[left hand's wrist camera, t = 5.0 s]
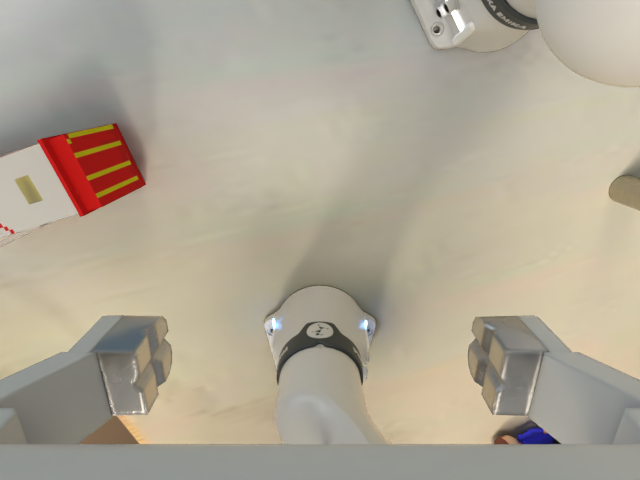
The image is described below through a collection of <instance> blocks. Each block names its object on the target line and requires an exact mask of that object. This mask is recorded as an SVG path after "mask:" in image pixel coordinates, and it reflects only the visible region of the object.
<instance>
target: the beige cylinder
mask: <svg viewBox="0 0 640 480" xmlns="http://www.w3.org/2000/svg"><path fill="white" fill-rule="evenodd" d="M609 195H610V198H611V199H612V200H613V201H615V202H618V203H621V204H623V205H626V206H629V207H631V208H634V209H637V210H639V211H640V178H638V177H635V176H631V175H624V176H620V177H618V178H617V179H616V180H615V181H614V182H613V183H612V184H611V186H610V189H609Z"/></svg>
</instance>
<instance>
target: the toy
mask: <svg viewBox="0 0 640 480" xmlns="http://www.w3.org/2000/svg"><path fill="white" fill-rule="evenodd" d="M37 141H38V143H39V144H36V145H33V146H31V147H28V148H25V149H22V150H20V149H19V150H15V151H11V152H7V153H3V154H0V237H3V236H7V235H10V234H13V233H17V232H19V233H17V234H15V235H13V236H10V237H8V238H6V239H4V240H2V241H0V247H1V246H3V245H6V244H8V243H10V242H12V241H14V240H16V239H18V238H20V237H23V236H25V235H27V234H29V233H31V232H33V231H35V230H37V229H40V228H42V227H44V226H46V225H48V224H50V223H52V222H54V221H57V220H60V219H63V218H67V217H70V216H73V215H76V214H79V215H80V217H81V216H84V215H86V214H88V213H90V212H92V211H94V210H96V209H98V208H100V207H103V206H105V205H107V204H109V203H111V202H113V201H115V200H117V199H119V198H121V197H123V196H125V195H127V194H129V193H131V192H133V191H135V190H137V189H139V188H141V187H142V186H144V185H146V184H145V182H144V180H143V178H142V175H141V173H140V171H139V169H138V167H137V165H136V163H135V161H134V159H133V157H132V155H131V153H130V151H129V149H128V147H127V144H126V142H125V140H124V138H123V136H122V134H121V132H120V130H119V128H118V126H117V124H116V123H115V124H110V125H105V126H101V127H96V128H91V129H86V130H81V131H77V132H72V133H67V134H62V135H57V136H53V137H48V138H43V139H39V140H37ZM20 231H21V232H20Z"/></svg>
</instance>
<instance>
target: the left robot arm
mask: <svg viewBox="0 0 640 480" xmlns="http://www.w3.org/2000/svg"><path fill="white" fill-rule="evenodd" d="M264 328H265V331H266V334H267V338H268V341H269V345H270V348H271V352H272V355H273V358H274V362H275V365H276V369H277V383H278V392H277V399H276V407H275V414H274V421H275V427H276V430H277V433H278V435H279V437H280V438H281V440H282V442H283V443H284V444H79V443H80V442H82V441H83V440H84V439H85V438H87V437H88V436H89V435H90V434H92V433H93V432H94V431H95V430H97V429H98V428H99V427H101V426H102V425H103V424H104V423H106V422H107V421H108V420H109V419H111V418H112V416H117V415H148V413H149V411H150V409H151V407H152V405H153V404H154V402H155V400H156V398H157V396H158V389H157V387H158V386H159V385H161V384H162V383H164V382H165V381H166V379H167V377H168V375H169V373H170V369H171V364H172V350H171V345H170V344H169V343H168V342H167V341H166V340H165V339H164V337H165V336H166V334H167V332H168V326H167V321H166V319H165V318H164V317H163V316H124V315H115V316H103V317H101V318H100V320H99V321H98V322H97V323H96V324H95V325H94V326H93V327H92V328H91V329H90V330H89V331H88V332H87V333H86V334H85V335H84V336H83V337H82V338H81V339H80V340H79V341H78V342H77V343H76V344H75V345H74V346H73V347H72V348H71V349H70V350H69V351H68V352H61V353H59V354H56V355H54V356H52V357H50V358H48V359H45V360H43V361H41V362H39V363H37V364H35V365H32V366H30V367H28V368H26V369H24V370H21V371H19V372H17V373H15V374H13V375H10V376H8V377H6V378H4V379H2V380H0V480H640V380H638V379H636V378H634V377H632V376H629V375H627V374H625V373H623V372H621V371H619V370H616V369H614V368H612V367H610V366H608V365H605V364H603V363H601V362H599V361H597V360H594V359H592V358H590V357H588V356H586V355H584V354H581V353H579V352H572V351H571V350H570V349H569V348H568V347H567V346H566V345H565V344H564V343H563V342H562V341H561V340H560V339H559V338H558V337H557V336H556V335H555V334H554V333H553V332H552V331H551V330H550V329H549V328H548V327H547V326H546V325H545V324H544V322H543V321H542V320H541V319H540V318H539V317H537V316H534V315H526V316H495V317H475V319H474V321H473V325H472V332H473V334H474V336H475V337H476V339H475V340H474V341H473V342H472V343H471V344H470V345H469V350H468V364H469V369H470V372H471V375H472V377H473V379H474V381H475V382H476V383H478V384H479V385H481V386H482V387H483V389H482V396H483V398H484V400H485V402H486V403H487V405H488V407H489V409H490V411H491V413H492V415H523V416H528V418H530V419H531V420H532V421H533V422H535V423H536V424H537V425H538V426H540V427H541V428H542V429H543V430H545V431H546V432H547V433H548V434H550V435H551V436H552V437H553V438H555V439H556V440H557V441H558V442H560V443H561V444H392V443H391V442H390V441H389V440H388V439H387V438H386V437H385V436H384V435H383V434H382V433H381V432H380V431H379V429H378V428H377V427H376V426H375V424H374V423H373V421H372V420H371V418H370V416H369V414H368V411H367V407H366V404H365V400H364V395H363V390H362V384H363V381H366V379H367V367H366V366H364V365H365V363H367V364H368V362H369V355H368V352H369V348H370V345H371V341H372V338H373V334H374V331H375V328H376V321H375V319H374V318H373V317H372V316H370V315H369V314H367V313H365V312H363V311H362V310H361V309H360V307H359V306H358V305H357V303H356V302H355V301H354V300H353V299H352V298H351V297H350V296H349V295H348V294H346V293H345V292H343V291H341V290H339V289H336V288H333V287H329V286H311V287H307V288H304V289H301V290H299V291H297V292H295V293H294V294H292V295H291V296H290V297H289V298H288V299H287V300H286V301H285V302H284V303H283V305H282V306H281V307H280V309H279V310H278V311H277V312H275V313H273V314H271V315H270V316H268V317H267V318H266V319H265V321H264ZM271 329H273V331H272V330H271ZM367 329H369V330H368V331H367Z"/></svg>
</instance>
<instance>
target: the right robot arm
mask: <svg viewBox="0 0 640 480" xmlns="http://www.w3.org/2000/svg"><path fill="white" fill-rule="evenodd" d="M410 1H411V4H412V6H413V8H414V10H415V12H416V14H417V17H418V19H419V21H420V23H421V25H422V27H423V30H424V32H425V34H426V36H427V38H428V40H429V43H430V45H431V46H432V47H433V48H435V49H438V50H442V49H449V48H454V47H459V48H464V49H467V50H471V51H476V52H491V51H496V50H500V49H503V48H505V47H507V46H510V45H511V44H513V43H515V42H516V41H518V40H519V39H520V38H522V37H523V36H524V35H525V34H526V33H527V32H528V31H529V30H533V29H538V28H540V31H541V34H542V36H543V38H544V40H545V42H546V44H547V45H548V47H549V49H550V50H551V51H552V53H553V54H554V55H555V56H556V57H557V58H558V59H559V60H560V61H561V62H562V63H563V64H564V65H565V66H566V67H568V68H569V69H570V70H572V71H573V72H575V73H577V74H578V75H580V76H582V77H584V78H587V79H589V80H592V81H595V82H598V83H602V84H605V85H610V86H619V87H630V88H633V87H640V0H410ZM435 26H436V27H438V28H439V31H438V33H435V32H434V30H433V29H434V27H435Z"/></svg>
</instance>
